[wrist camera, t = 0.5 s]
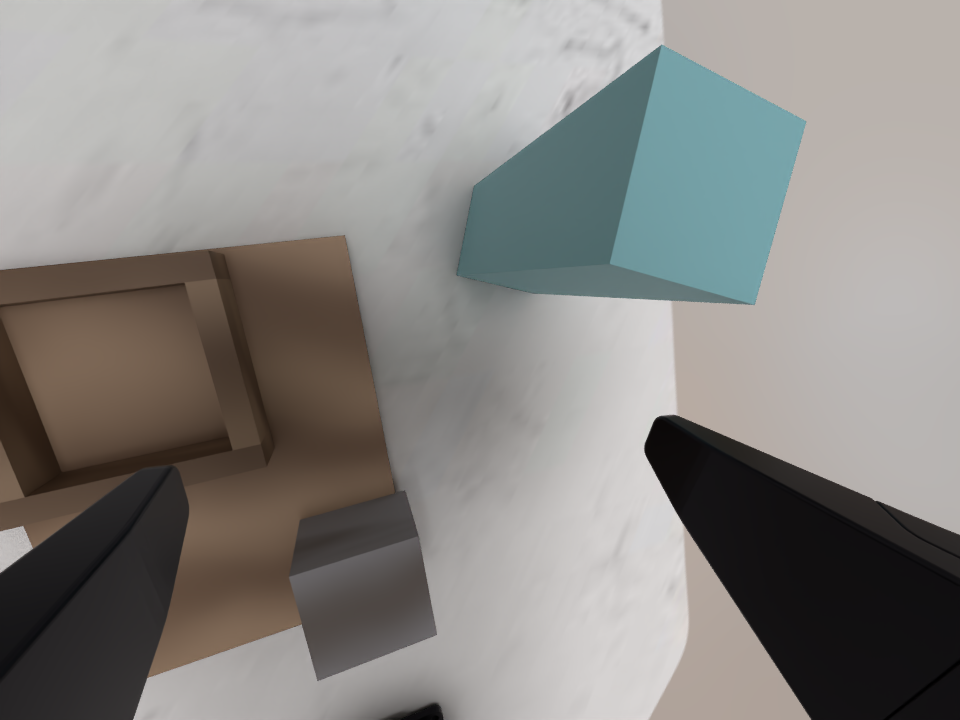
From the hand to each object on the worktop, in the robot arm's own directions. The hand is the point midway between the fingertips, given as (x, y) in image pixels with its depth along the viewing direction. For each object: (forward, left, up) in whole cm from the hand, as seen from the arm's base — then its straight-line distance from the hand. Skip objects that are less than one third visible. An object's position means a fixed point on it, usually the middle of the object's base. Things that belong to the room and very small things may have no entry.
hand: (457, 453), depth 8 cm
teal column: (+4, -7, -14) cm, 16 cm away
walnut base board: (-4, +8, -14) cm, 16 cm away
